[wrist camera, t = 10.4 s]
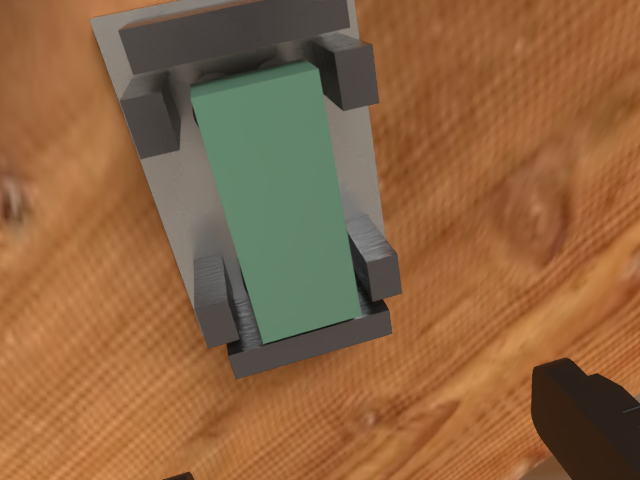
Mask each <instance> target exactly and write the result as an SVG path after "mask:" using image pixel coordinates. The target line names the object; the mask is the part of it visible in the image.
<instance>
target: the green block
mask: <svg viewBox="0 0 640 480" xmlns="http://www.w3.org/2000/svg"><path fill="white" fill-rule="evenodd" d="M190 95H191V102H192V105H193V108H194V112H195V115H196V118H197V122H198V125H199V128H200V132H201V135H202V139H203V142H204V145H205V149H206V152H207V155H208V159H209V162H210V166H211V169H212V172H213V176H214V179H215V182H216V186H217V189H218V192H219V196H220V199H221V203H222V206H223V209H224V213H225V216H226V219H227V223H228V226H229V230H230V233H231V236H232V240H233V243H234V246H235V250H236V253H237V256H238V260H239V263H240V267H241V270H242V273H243V277H244V280H245V283H246V287H247V290H248V294H249V297H250V300H251V304H252V307H253V310H254V314H255V317H256V320H257V324H258V327H259V331H260V334H261V337H262V341H263V344H265V343H269V342H272V341H276V340H279V339H282V338H286V337H289V336H293V335H296V334H300V333H303V332H307V331H310V330H314V329H317V328H321V327H324V326H327V325H331V324H334V323H338V322H341V321H345V320H348V319H352V318H355V317H359V316H362V315H361V309H360V303H359V298H358V292H357V286H356V280H355V275H354V269H353V263H352V258H351V252H350V246H349V240H348V235H347V229H346V223H345V217H344V212H343V206H342V200H341V194H340V189H339V183H338V177H337V171H336V166H335V160H334V154H333V149H332V143H331V137H330V131H329V126H328V120H327V114H326V108H325V103H324V97H323V91H322V85H321V80H320V74H319V69H318V68H317V67H315V66H314V65H312V64H311V63H309V62H308V61H307V60H305V59H299V60H295V61H290V62H286V63H282V64H277V65H273V66H268V67H264V68H260V69H255V70H251V71H246V72H242V73H238V74H233V75H229V76H225V77H220V78H216V79H211V80H207V81H203V82H198V83H194V84H190Z"/></svg>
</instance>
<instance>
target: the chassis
mask: <svg viewBox="0 0 640 480" xmlns="http://www.w3.org/2000/svg"><path fill="white" fill-rule="evenodd" d="M89 20H90V23H91V25H92V28H93V31H94V34H95V37H96V39H97V42H98V45H99V48H100V50H101V53H102V56H103V59H104V62H105V64H106V67H107V70H108V73H109V75H110V78H111V81H112V84H113V87H114V89H115V92H116V95H117V98H118V100H119V103H120V106H121V109H122V112H123V114H124V117H125V120H126V123H127V126H128V128H129V131H130V134H131V137H132V139H133V142H134V145H135V148H136V151H137V153H138V156H139V159H140V162H141V164H142V167H143V170H144V173H145V176H146V178H147V181H148V184H149V187H150V190H151V192H152V195H153V198H154V201H155V203H156V206H157V209H158V212H159V215H160V217H161V220H162V223H163V226H164V228H165V231H166V234H167V237H168V240H169V242H170V245H171V248H172V251H173V253H174V256H175V259H176V262H177V265H178V267H179V270H180V273H181V276H182V279H183V281H184V284H185V287H186V290H187V292H188V295H189V298H190V301H191V304H192V306H193V309H194V312H195V315H196V317H197V320H198V323H199V326H200V329H201V331H202V334H203V337H204V338H205V341H206V344H207V346H208V348H211V347H215V346H218V345H222V344H225V343H227V350H228V357H229V360H230V363H231V366H232V369H233V372H234V375H235V378H236V379H239V378H242V377H246V376H249V375H253V374H256V373H260V372H263V371H266V370H270V369H273V368H277V367H280V366H284V365H287V364H290V363H294V362H297V361H301V360H304V359H308V358H311V357H314V356H318V355H321V354H325V353H328V352H331V351H335V350H338V349H342V348H345V347H349V346H352V345H355V344H359V343H362V342H366V341H369V340H373V339H376V338H379V337H383V336H386V335H390V334H392V327H391V320H390V313H389V309H388V307H387V306H386V304H385V302H384V301H383V299H384V298H388V297H391V296H395V295H398V294H402V289H401V281H400V272H399V264H398V256H397V253H396V252H395V250H394V249H393V248H392V246H391V245H390V244H389V243H388V241H387V240H386V238H385V231H384V223H383V215H382V208H381V200H380V192H379V185H378V177H377V169H376V162H375V154H374V146H373V139H372V131H371V123H370V116H369V108H368V105H372V104H376V103H379V97H378V89H377V81H376V72H375V64H374V56H373V47H372V44H370V43H367V42H364V41H361V40H360V39H359V32H358V24H357V16H356V9H355V1H354V0H177V1H172V2H167V3H162V4H157V5H152V6H147V7H142V8H138V9H133V10H128V11H123V12H118V13H113V14H108V15H103V16H98V17H93V18H91V19H89ZM299 59H305V60H307V61H308V62H309V63H311V64H312V65H314V66H315V67H317V68H318V69H319V74H320V80H321V85H322V91H323V97H324V103H325V108H326V114H327V120H328V126H329V131H330V137H331V143H332V149H333V154H334V160H335V166H336V171H337V177H338V183H339V189H340V194H341V200H342V206H343V212H344V217H345V223H346V229H347V235H348V240H349V246H350V252H351V258H352V263H353V269H354V275H355V280H356V286H357V292H358V298H359V303H360V309H361V315H362V316H359V317H355V318H352V319H348V320H345V321H341V322H338V323H334V324H331V325H327V326H324V327H321V328H317V329H314V330H310V331H307V332H303V333H300V334H296V335H293V336H289V337H286V338H282V339H279V340H276V341H272V342H269V343H265V344H263V341H262V337H261V334H260V331H259V327H258V324H257V320H256V317H255V314H254V310H253V307H252V304H251V300H250V297H249V294H248V290H247V287H246V283H245V280H244V277H243V273H242V270H241V267H240V263H239V260H238V256H237V253H236V250H235V246H234V243H233V240H232V236H231V233H230V230H229V226H228V223H227V219H226V216H225V213H224V209H223V206H222V203H221V199H220V196H219V192H218V189H217V186H216V182H215V179H214V176H213V172H212V169H211V166H210V162H209V159H208V155H207V152H206V149H205V145H204V142H203V139H202V135H201V132H200V128H199V125H198V122H197V118H196V115H195V112H194V108H193V105H192V102H191V95H190V84H194V83H198V82H203V81H207V80H211V79H216V78H220V77H225V76H229V75H233V74H238V73H242V72H246V71H251V70H255V69H260V68H264V67H268V66H273V65H277V64H282V63H286V62H290V61H295V60H299Z"/></svg>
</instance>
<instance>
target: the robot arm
mask: <svg viewBox="0 0 640 480" xmlns="http://www.w3.org/2000/svg"><path fill="white" fill-rule="evenodd" d="M531 416H532V420H533V423H534V426H535V428H536V431H537V433H538V434H539V436H540V438H541V439H542V441H543V442H544V443H545V445H546V446H547V447H548V448H549V450H550V451H551V452H552V454H553V455H554V456H555V458H556V459H557V460H558V462H559V463H560V464H561V465H562V467H563V468H564V469H565V471H566V472H567V473H568V475H569V476H570V477H571V479H572V480H640V403H639V402H638V401H637V400H636V399H635V398H633V397H632V396H631V395H630V394H629V393H628V392H627V391H626V390H625V389H624V388H623V387H622V386H620V385H618V384H616V383H615V382H613V381H611V380H609V379H607V378H605V377H603V376H601V375H599V374H598V373H596V374H593V375H590V376H587V375H586V374H585V373H584V372H583V371H582V370H581V369H580V368H579V367H578V366H577V365H576V364H575V363H574V362H573V361H572V360H570V359H568V358H562V359H558V360H555V361H552V362H549V363H545V364H542V365H539V366H536V367H534V369H533V373H532V399H531ZM163 480H194V478H193V476H192V474H191V473H190V472H186V473H183V474H180V475H176V476H173V477H170V478H167V479H163Z"/></svg>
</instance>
